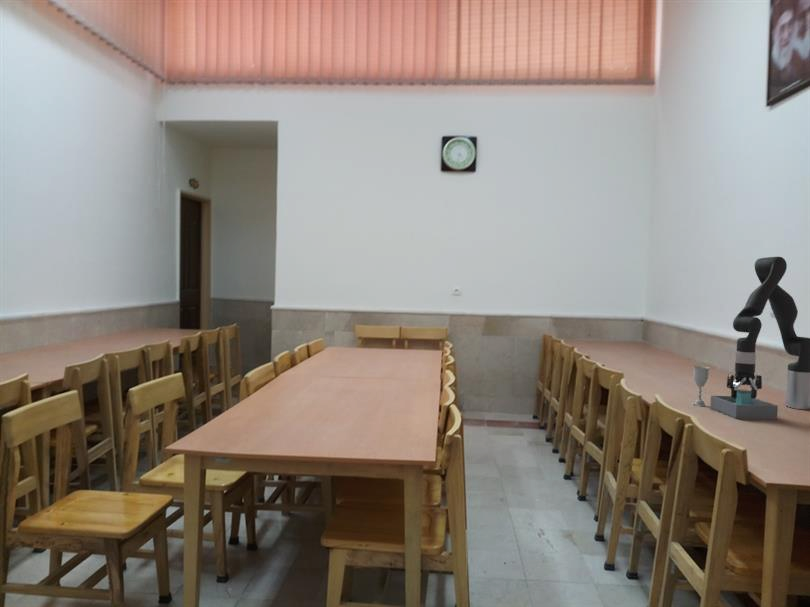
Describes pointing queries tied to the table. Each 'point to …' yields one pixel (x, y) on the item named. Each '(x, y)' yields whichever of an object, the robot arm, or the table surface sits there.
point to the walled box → (744, 408)
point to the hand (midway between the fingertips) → (743, 398)
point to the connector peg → (743, 397)
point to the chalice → (700, 381)
